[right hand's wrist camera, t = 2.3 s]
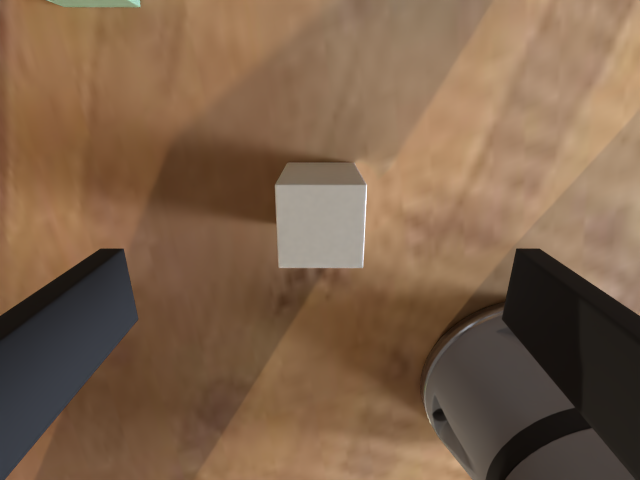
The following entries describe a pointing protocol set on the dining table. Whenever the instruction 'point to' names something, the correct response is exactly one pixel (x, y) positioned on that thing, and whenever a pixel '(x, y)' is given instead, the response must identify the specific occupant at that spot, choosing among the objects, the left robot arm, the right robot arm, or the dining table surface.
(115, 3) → the sage block
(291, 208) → the cream block
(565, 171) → the dining table surface
